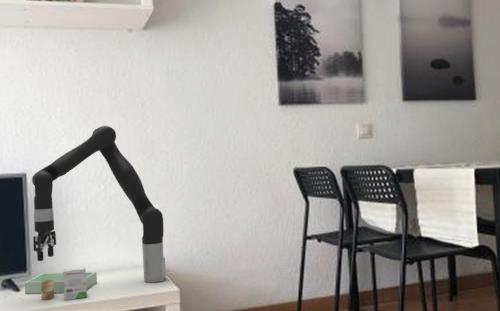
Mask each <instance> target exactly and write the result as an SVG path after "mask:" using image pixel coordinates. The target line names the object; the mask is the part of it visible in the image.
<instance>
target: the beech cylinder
mask: <svg viewBox="0 0 500 311" xmlns="http://www.w3.org/2000/svg"><path fill="white" fill-rule="evenodd" d="M40 296H41V300H42V301H49V300H53V299H55V298H56V297H55V293H54V280H45V281H42V282H41V294H40Z"/></svg>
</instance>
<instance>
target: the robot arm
mask: <svg viewBox="0 0 500 311" xmlns="http://www.w3.org/2000/svg"><path fill="white" fill-rule="evenodd" d="M116 140H117V133H116V130H115V129H114V128H113V127H111V126H110V125H103V126H99V127H97V128H96V129H94V130H93V132H92V134H91V136H89V138H87V139H86V140H85V141H84V142H82V143H81V144H79V145H78V146H76V147H74V148H72V149H71V150H70V151H67V152H65V153H64V154H62V155H61V156H59V157H58V158H57V159H54V161H53V162H51V163H50V164H48V165H47V166H45V167H44V168H41V169H40V170H38V171H37V172H36V173H34V174H33V176H32V177H31V178H32V179H31V181H32V185H34V198H33V204H34V205H33V206H34V208H33V209H34V213H33V223H34V224H33V225H34V226H33V227H34V232H35V233H37V235H34V236H33V252H36V254H37V261H38V262H42V261H44V249H45V247H46V248H47V257H49V258H50V257H54V255H55V254H54V252H55V251H54V247H55V246H56V245H57V236H56V234H57V233H56V231H55V218H54V209H53V185H54V184H53V183H54V181H56V180H57V179H58V178H60V177H63V176H65V175H66V174H68V173H69V172H70V171H72V170H73V169H75V168H76V167H78V166H79V165H80V164H81V163H83V162H84V161H85V160H87V159H88V158H89V157H90V156H92V155H94V154H95V153H97V152H98V151H99V152H100V154H101V155H102V156H103V157H104V159H105V161H106V163H107V165H108V167H109V168H110V171H111V172H112V174H113V176H114V178H115V180H116V182H117V183H118V185H119V187H120V188H121V189H122V191H123V193H124V194H125V195H126V197H127V198H128V199H129V201H130V202H131V204H132V205H133V207H134V210H135V212H136V214H137V216H138V218H139V221H140V222H141V224H142V238H141V240H142V241H141V243H142V244H141V245H142V265H143V282H145V283H159V282H164V280H166V279H167V276H166V275H167V274H166V271H167V270H166V258H165V257H164V240H163V238H164V216H163V213H162V212H161V210H160V209H158V208H156V207H155V206H154V205H153V203H152V202H151V201H150V199H149V198H148V197H149V196H148V195H147V194H146V192H145V189H144V185H143V182H142V180H141V178H140V176H139V174H138V172H137V171H136V170H135V168H134V166H133V165H132V163H130V161H129V160H128V159H127V158H126V157H125V155H123V154H122V153H121V151H120V150H119V148H118V146H117V143H116V142H115V141H116Z"/></svg>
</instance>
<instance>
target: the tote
mask: <svg viewBox="0 0 500 311" xmlns="http://www.w3.org/2000/svg"><path fill="white" fill-rule="evenodd" d="M97 276H98V275H97V271H86V287H87V290H89V289H90V288H92V287H93V286H95V285H96V284H98V278H97ZM45 280H54V294H64V278H63V272H53V273H52V272H51V273H49V272H48V273H40V274H39V275H37V276H35V277H33V278H30V279H29V280H27V281H24V290H25V295H33V294H36V295H37V294H40V295H41V282H42V281H45Z"/></svg>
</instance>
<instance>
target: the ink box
mask: <svg viewBox="0 0 500 311" xmlns="http://www.w3.org/2000/svg"><path fill="white" fill-rule="evenodd" d="M86 272H87V271H86V267H79V268H68V269H64V270H63V272H62V273H63V278H64V293H63V294H64V301H68V300H77V299H86V298H87V296H88V291H87V290H88V289H87V287H86Z"/></svg>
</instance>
